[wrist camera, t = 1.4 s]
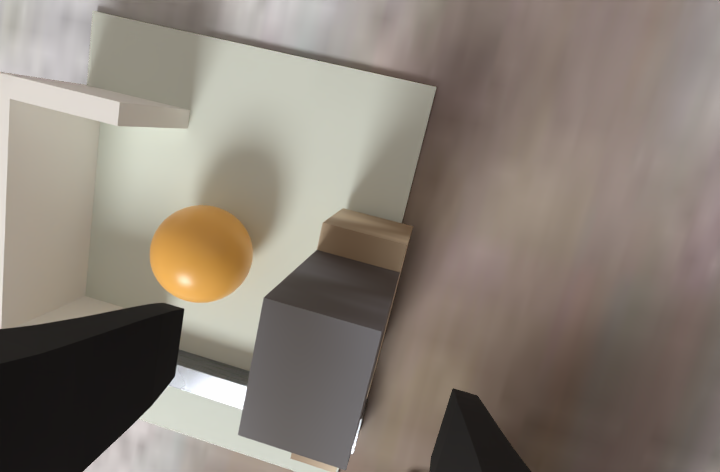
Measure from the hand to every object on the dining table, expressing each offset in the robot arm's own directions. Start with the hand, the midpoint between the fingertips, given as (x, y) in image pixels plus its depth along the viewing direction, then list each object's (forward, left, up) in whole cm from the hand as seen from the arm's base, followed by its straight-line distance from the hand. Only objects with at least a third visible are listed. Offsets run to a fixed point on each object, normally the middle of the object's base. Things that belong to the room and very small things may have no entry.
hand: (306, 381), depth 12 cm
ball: (+6, 0, -7) cm, 9 cm away
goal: (+12, 0, -9) cm, 15 cm away
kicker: (0, +2, -8) cm, 9 cm away
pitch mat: (+6, +1, -9) cm, 11 cm away
